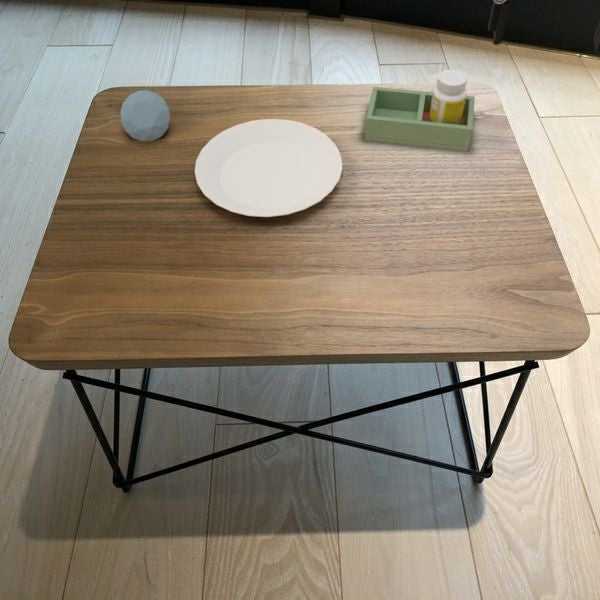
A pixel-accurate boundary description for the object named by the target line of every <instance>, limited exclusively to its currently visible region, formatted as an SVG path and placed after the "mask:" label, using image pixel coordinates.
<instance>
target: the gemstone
mask: <svg viewBox="0 0 600 600" xmlns="http://www.w3.org/2000/svg"><path fill="white" fill-rule="evenodd" d="M119 114H120V115H119V116H120V123H121V126H122V127H123V129H124V131H125V133H127V135H129V136H130V137H131V138H132V139H133V140H137V141H139V142H153V141H156V140H158V139H160V138H162V136H163V135H164V134H165V133H166V132H167V130H168V128H169V125H170V123H171V122H170V121H171V114H170V109H169V106H168V104H167V102H166V100H165V99H164V98H163V97H161V95H160V94H158V93H156V92H154V91H151V90H147V89H146V90H137V91H135V92H132V93H131V94H129V95H128V96H127V97H126V99H125V100H123V102H122V104H121V108H120V112H119Z"/></svg>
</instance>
